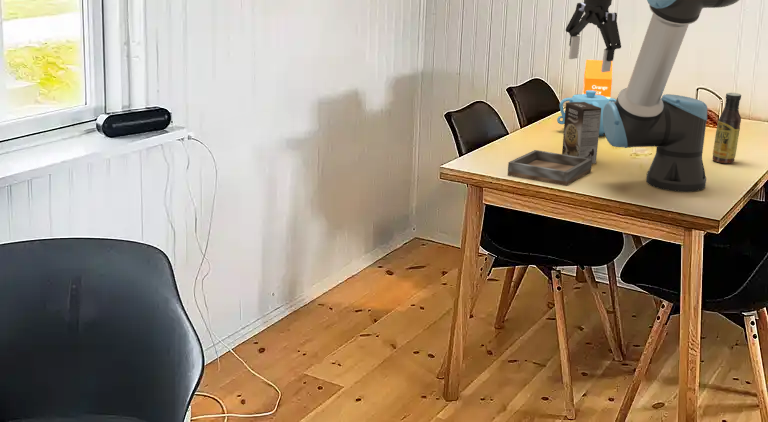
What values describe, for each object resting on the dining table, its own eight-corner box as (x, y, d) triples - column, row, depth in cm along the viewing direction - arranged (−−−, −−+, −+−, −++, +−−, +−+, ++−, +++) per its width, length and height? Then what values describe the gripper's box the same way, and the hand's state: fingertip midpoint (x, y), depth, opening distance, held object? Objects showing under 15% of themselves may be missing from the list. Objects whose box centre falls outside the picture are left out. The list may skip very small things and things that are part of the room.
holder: (591, 171, 274) (592, 159, 273) (566, 185, 260) (567, 172, 259) (534, 161, 283) (535, 149, 282) (507, 174, 269) (508, 162, 268)
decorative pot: (584, 125, 330) (587, 84, 326) (623, 134, 318) (627, 91, 314) (551, 131, 320) (554, 89, 316) (590, 141, 309) (594, 97, 304)
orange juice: (580, 116, 343) (585, 57, 337) (606, 117, 342) (612, 59, 336) (581, 120, 336) (586, 61, 330) (608, 122, 335) (613, 62, 328)
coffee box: (560, 157, 288) (564, 102, 284) (579, 155, 291) (584, 101, 286) (577, 165, 280) (582, 108, 275) (597, 163, 283) (602, 107, 278)
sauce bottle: (707, 159, 289) (715, 92, 283) (724, 158, 291) (733, 90, 285) (722, 165, 283) (731, 96, 277) (740, 163, 286) (749, 95, 280)
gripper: (641, -1, 268) (629, 75, 277) (579, -21, 287) (569, 51, 296) (621, 1, 264) (609, 78, 273) (559, -18, 283) (550, 54, 292)
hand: (589, 64), depth 285 cm, fingers open, 13 cm apart
